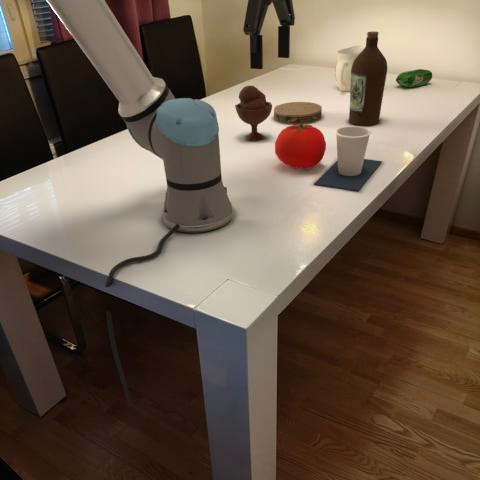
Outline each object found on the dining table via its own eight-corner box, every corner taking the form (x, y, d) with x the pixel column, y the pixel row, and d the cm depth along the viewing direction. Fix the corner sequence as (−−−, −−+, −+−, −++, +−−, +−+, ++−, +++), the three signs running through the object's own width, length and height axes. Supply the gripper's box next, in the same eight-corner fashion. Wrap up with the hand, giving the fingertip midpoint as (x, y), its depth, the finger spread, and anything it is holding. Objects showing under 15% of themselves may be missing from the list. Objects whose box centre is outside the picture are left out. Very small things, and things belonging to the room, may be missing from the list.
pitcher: (325, 94, 185) (327, 54, 177) (341, 83, 197) (344, 45, 189) (353, 96, 181) (357, 55, 172) (368, 85, 193) (372, 46, 185)
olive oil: (366, 115, 162) (375, 28, 146) (387, 122, 154) (399, 31, 139) (340, 121, 158) (346, 32, 143) (361, 129, 150) (370, 36, 135)
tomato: (333, 163, 129) (335, 121, 123) (311, 179, 121) (312, 135, 115) (289, 155, 136) (289, 115, 129) (265, 170, 128) (265, 128, 121)
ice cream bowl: (270, 144, 144) (269, 89, 135) (233, 143, 146) (229, 89, 137) (275, 132, 152) (274, 80, 143) (240, 132, 154) (237, 80, 145)
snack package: (391, 87, 189) (393, 72, 186) (420, 80, 195) (422, 66, 191) (404, 91, 184) (406, 76, 181) (434, 84, 190) (437, 69, 186)
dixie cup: (332, 178, 120) (335, 136, 114) (332, 165, 127) (335, 125, 121) (367, 178, 119) (372, 136, 113) (365, 165, 125) (369, 125, 119)
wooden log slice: (276, 126, 157) (276, 116, 156) (271, 112, 170) (271, 103, 168) (325, 123, 157) (325, 113, 155) (317, 109, 170) (317, 100, 168)
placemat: (358, 191, 114) (358, 190, 114) (314, 184, 118) (314, 183, 118) (381, 162, 128) (381, 161, 127) (341, 157, 132) (341, 156, 132)
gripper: (257, -52, 90) (259, 74, 103) (311, -55, 107) (307, 54, 120) (222, -50, 93) (229, 72, 106) (281, -54, 110) (280, 52, 123)
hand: (270, 63), depth 113 cm, fingers open, 13 cm apart
